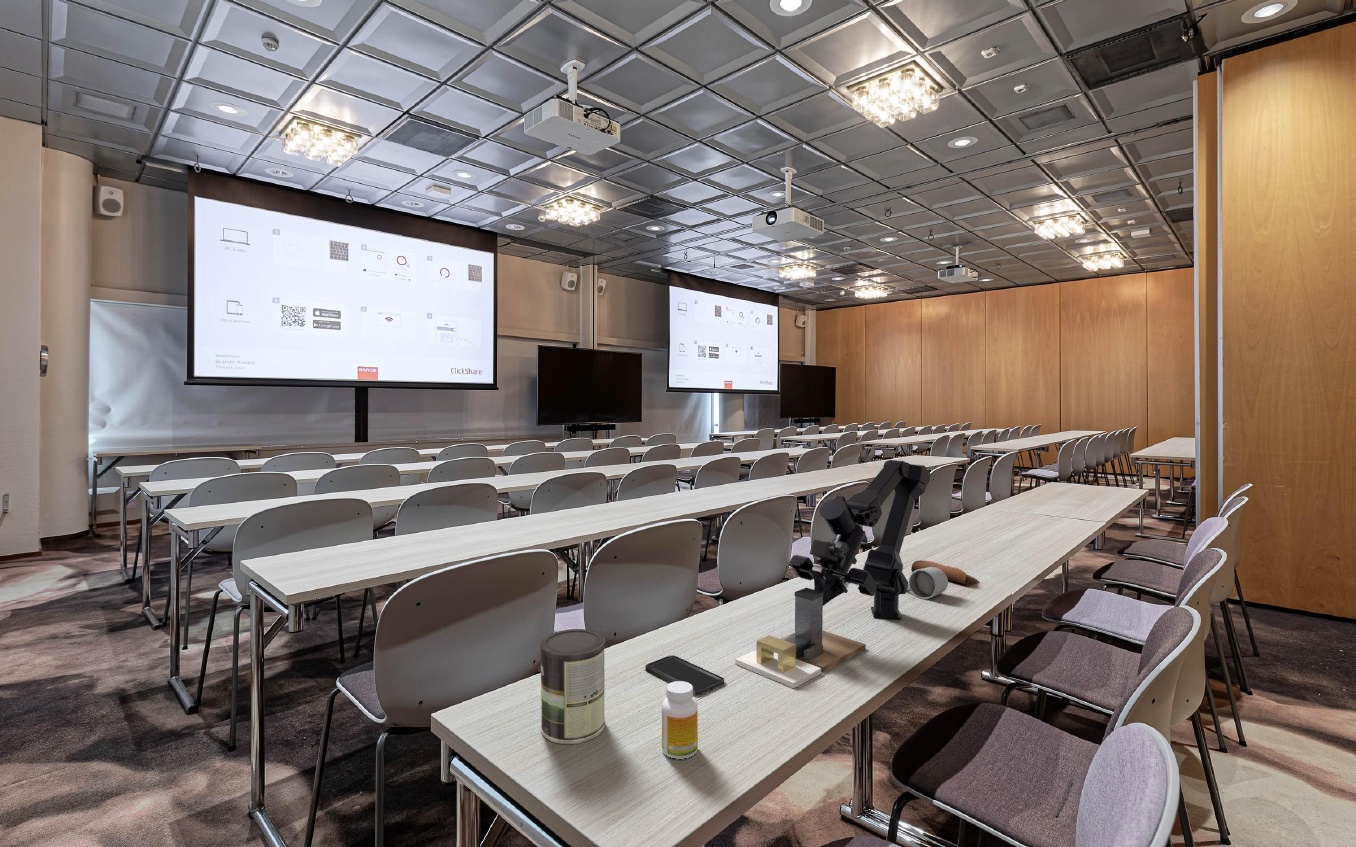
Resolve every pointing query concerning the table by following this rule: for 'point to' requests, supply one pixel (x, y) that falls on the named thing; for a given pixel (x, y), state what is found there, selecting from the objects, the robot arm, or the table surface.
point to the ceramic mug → (927, 582)
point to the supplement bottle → (679, 721)
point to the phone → (685, 674)
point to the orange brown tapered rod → (947, 572)
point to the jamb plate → (770, 670)
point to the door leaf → (833, 650)
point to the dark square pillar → (807, 619)
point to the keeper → (779, 646)
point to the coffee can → (572, 686)
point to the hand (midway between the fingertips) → (815, 608)
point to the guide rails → (811, 650)
